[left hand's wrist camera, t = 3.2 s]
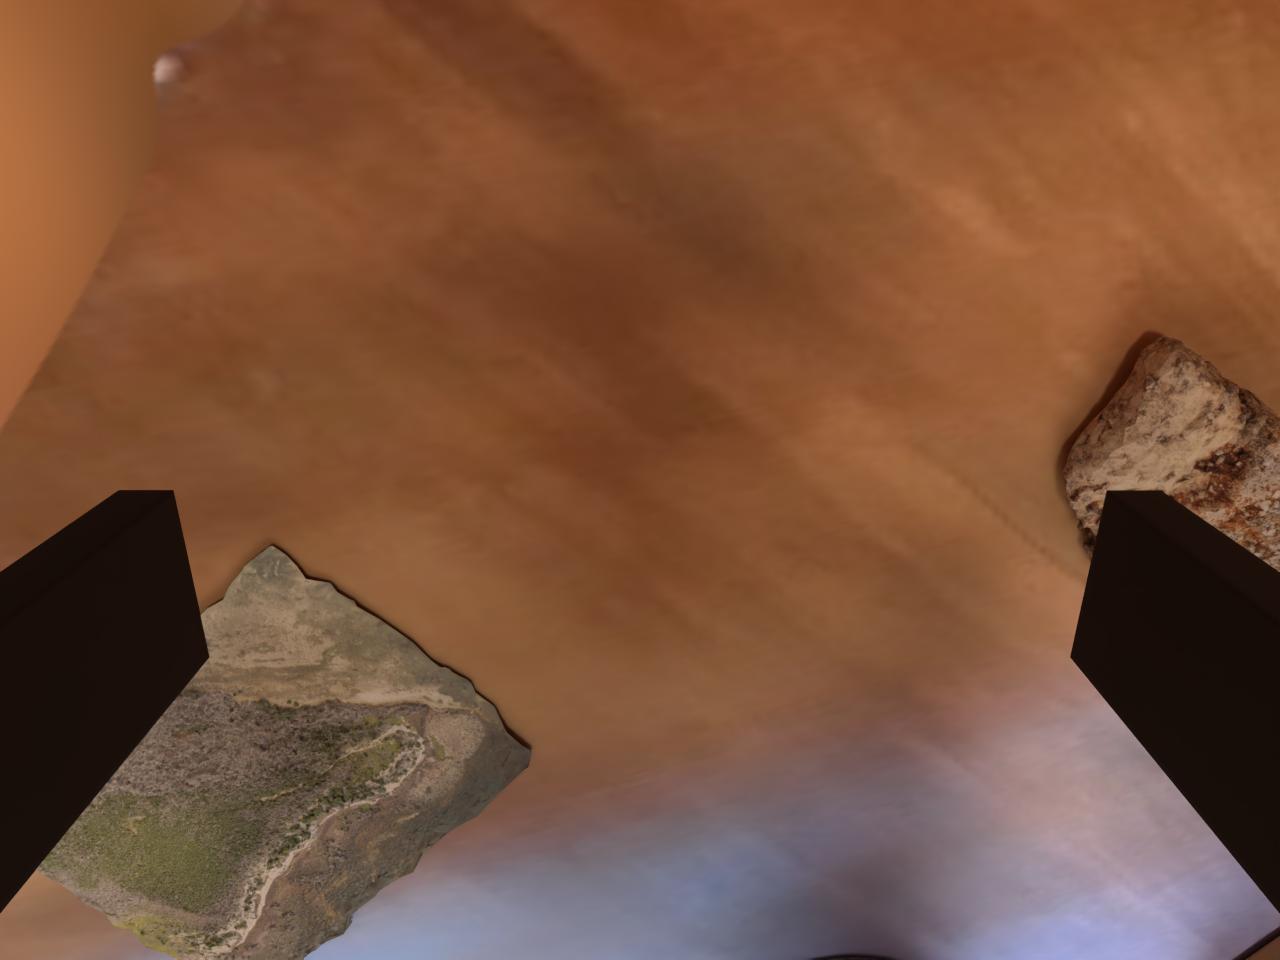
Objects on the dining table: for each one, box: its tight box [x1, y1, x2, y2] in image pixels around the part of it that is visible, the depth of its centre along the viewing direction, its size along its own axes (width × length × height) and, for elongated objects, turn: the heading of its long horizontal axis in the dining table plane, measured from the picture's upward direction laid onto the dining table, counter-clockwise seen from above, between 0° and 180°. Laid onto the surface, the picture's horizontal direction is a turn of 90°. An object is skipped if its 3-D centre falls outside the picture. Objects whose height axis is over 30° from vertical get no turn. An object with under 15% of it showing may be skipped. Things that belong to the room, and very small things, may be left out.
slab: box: [36, 546, 531, 960], centre depth 49 cm, size 28×20×1 cm
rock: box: [1063, 337, 1280, 572], centre depth 40 cm, size 15×10×6 cm
